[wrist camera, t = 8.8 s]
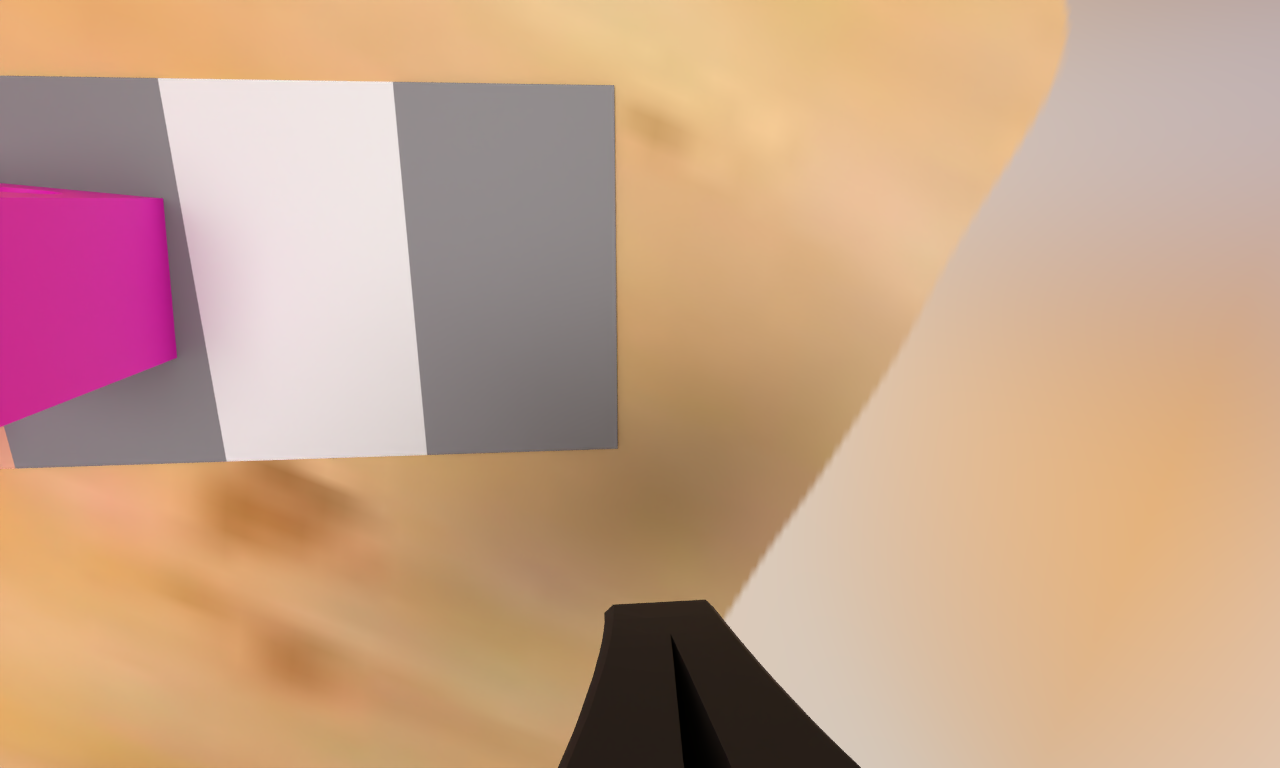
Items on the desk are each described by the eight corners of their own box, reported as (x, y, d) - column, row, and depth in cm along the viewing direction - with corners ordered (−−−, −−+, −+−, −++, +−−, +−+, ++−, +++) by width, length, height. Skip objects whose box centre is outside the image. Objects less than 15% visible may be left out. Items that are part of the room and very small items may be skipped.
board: (616, 440, 18) (617, 448, 18) (-407, 473, 16) (-444, 483, 16) (613, 89, 16) (614, 85, 15) (-591, 71, 14) (-643, 65, 13)
